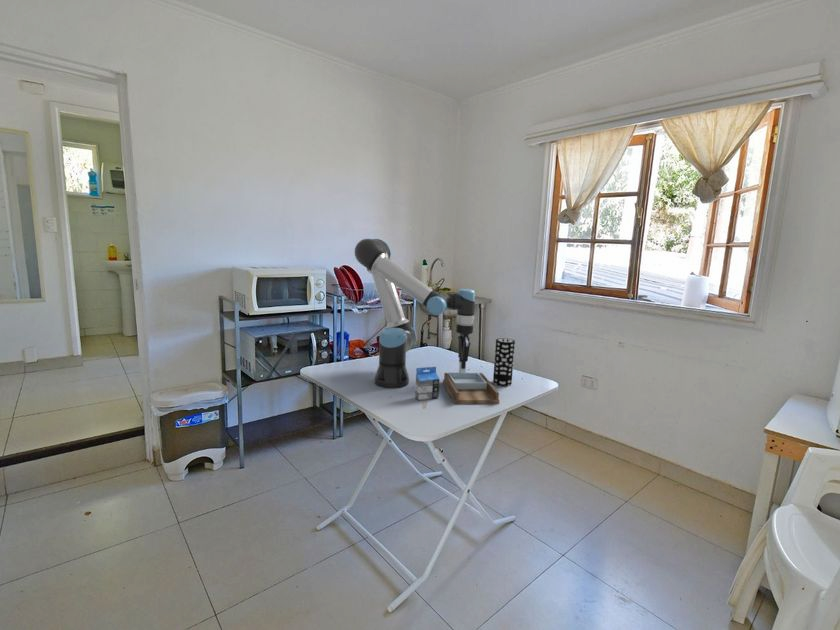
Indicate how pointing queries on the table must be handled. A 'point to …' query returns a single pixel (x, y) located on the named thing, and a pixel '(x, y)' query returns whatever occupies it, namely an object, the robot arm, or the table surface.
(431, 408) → the table surface
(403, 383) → the robot arm
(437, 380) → the label tape cartridge
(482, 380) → the shallow square tray
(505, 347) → the spotted tube
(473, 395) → the bay
